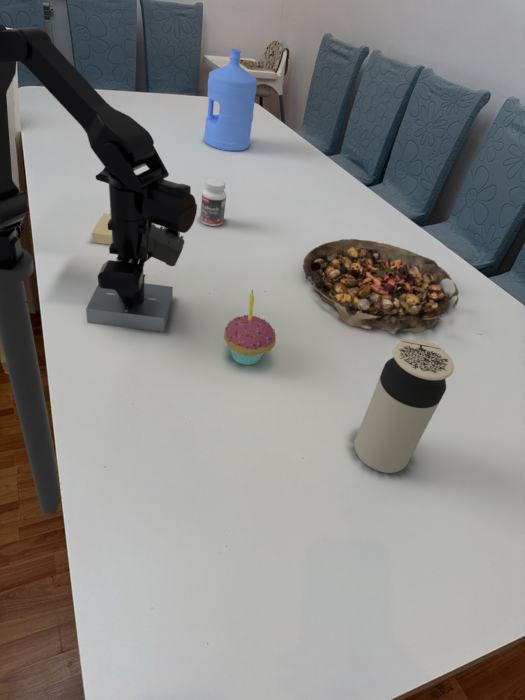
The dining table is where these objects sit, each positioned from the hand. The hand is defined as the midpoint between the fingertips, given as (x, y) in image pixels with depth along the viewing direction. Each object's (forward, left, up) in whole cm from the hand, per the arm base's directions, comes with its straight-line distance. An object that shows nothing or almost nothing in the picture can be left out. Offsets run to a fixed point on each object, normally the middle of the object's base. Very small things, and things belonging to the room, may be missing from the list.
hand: (132, 297), depth 87 cm
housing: (-7, +28, -3) cm, 29 cm away
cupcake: (+21, -9, -3) cm, 23 cm away
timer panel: (0, 0, -3) cm, 3 cm away
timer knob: (0, 0, 0) cm, 0 cm away
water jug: (+11, +103, -3) cm, 104 cm away
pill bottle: (+11, +41, -3) cm, 43 cm away
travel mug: (+41, -27, -3) cm, 49 cm away
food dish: (+49, +19, -3) cm, 53 cm away
